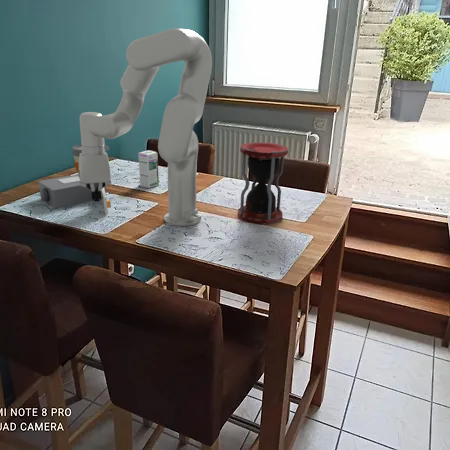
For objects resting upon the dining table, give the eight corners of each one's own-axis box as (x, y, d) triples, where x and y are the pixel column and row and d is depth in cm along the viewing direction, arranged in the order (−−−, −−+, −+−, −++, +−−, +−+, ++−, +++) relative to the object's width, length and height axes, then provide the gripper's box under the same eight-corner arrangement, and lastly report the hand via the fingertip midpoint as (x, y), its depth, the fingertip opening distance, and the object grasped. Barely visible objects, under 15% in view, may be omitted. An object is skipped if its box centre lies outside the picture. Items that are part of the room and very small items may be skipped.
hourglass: (230, 210, 158) (233, 143, 149) (270, 206, 164) (274, 141, 154) (248, 227, 144) (252, 153, 135) (290, 221, 150) (297, 150, 140)
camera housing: (106, 198, 167) (105, 180, 164) (52, 209, 154) (49, 190, 151) (90, 189, 177) (88, 172, 174) (37, 199, 163) (35, 181, 161)
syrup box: (149, 188, 180) (147, 154, 174) (139, 185, 183) (137, 151, 177) (159, 185, 184) (158, 151, 178) (149, 182, 187) (148, 149, 182)
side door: (107, 197, 166) (106, 182, 164) (111, 212, 151) (110, 196, 149) (101, 198, 165) (99, 183, 163) (104, 213, 150) (103, 197, 148)
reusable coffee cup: (109, 178, 192) (107, 144, 186) (99, 186, 180) (96, 151, 174) (82, 176, 193) (79, 143, 187) (70, 184, 181) (66, 149, 176)
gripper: (113, 146, 152) (115, 195, 159) (68, 148, 145) (73, 199, 153) (118, 151, 146) (120, 202, 153) (71, 153, 139) (76, 206, 146)
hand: (96, 200), depth 153 cm, fingers closed
